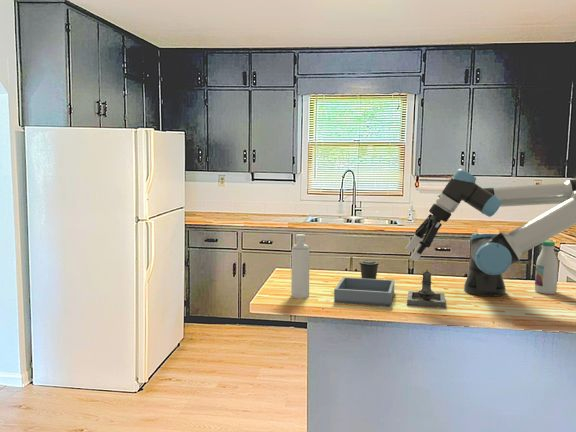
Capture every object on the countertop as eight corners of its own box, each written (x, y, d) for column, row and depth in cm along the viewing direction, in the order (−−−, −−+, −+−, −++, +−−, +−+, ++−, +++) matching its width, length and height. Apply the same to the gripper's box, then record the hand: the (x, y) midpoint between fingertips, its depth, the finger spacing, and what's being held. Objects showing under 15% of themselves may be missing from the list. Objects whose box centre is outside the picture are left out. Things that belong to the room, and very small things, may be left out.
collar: (444, 298, 199) (444, 293, 198) (445, 308, 186) (445, 302, 186) (408, 296, 202) (408, 290, 202) (407, 305, 189) (407, 299, 189)
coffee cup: (364, 281, 226) (364, 258, 225) (382, 284, 221) (382, 260, 220) (355, 285, 219) (355, 261, 218) (373, 288, 214) (373, 263, 213)
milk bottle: (556, 290, 210) (559, 240, 208) (556, 295, 203) (559, 243, 201) (534, 288, 214) (537, 239, 211) (534, 293, 207) (537, 242, 204)
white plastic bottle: (297, 292, 206) (298, 228, 204) (312, 295, 203) (313, 230, 200) (287, 296, 201) (288, 230, 198) (302, 299, 197) (303, 232, 194)
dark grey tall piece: (434, 304, 191) (436, 271, 189) (418, 303, 192) (418, 270, 190) (433, 300, 196) (434, 268, 195) (417, 299, 197) (418, 267, 196)
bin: (394, 292, 207) (394, 280, 206) (390, 306, 187) (390, 292, 187) (342, 289, 212) (343, 277, 211) (334, 302, 192) (334, 289, 192)
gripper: (429, 197, 208) (398, 241, 213) (441, 208, 184) (406, 258, 188) (445, 207, 208) (414, 251, 213) (459, 220, 184) (424, 269, 188)
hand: (410, 255), depth 200 cm, fingers open, 13 cm apart
